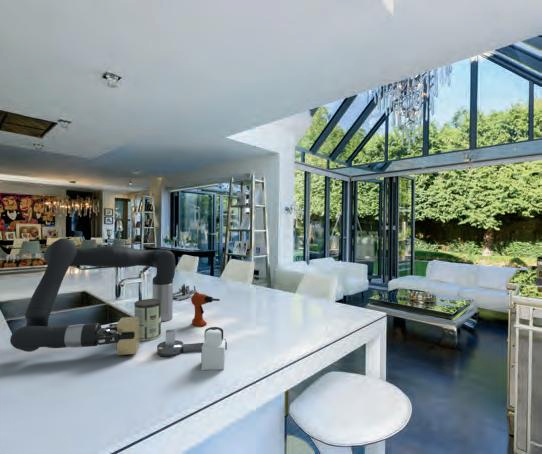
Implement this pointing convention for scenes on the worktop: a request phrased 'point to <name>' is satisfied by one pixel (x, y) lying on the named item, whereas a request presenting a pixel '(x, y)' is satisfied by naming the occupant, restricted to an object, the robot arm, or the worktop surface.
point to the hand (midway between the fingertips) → (135, 331)
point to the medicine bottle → (213, 350)
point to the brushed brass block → (128, 344)
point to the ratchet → (177, 346)
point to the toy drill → (200, 308)
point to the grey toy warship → (184, 292)
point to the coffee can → (148, 318)
